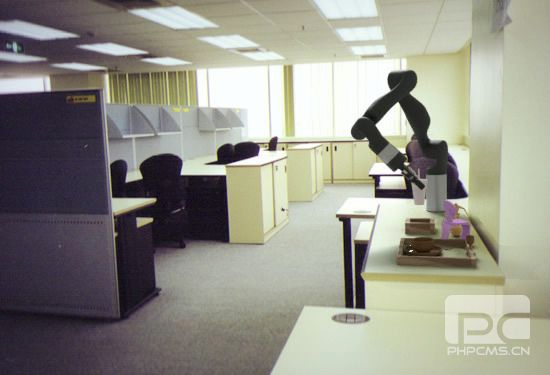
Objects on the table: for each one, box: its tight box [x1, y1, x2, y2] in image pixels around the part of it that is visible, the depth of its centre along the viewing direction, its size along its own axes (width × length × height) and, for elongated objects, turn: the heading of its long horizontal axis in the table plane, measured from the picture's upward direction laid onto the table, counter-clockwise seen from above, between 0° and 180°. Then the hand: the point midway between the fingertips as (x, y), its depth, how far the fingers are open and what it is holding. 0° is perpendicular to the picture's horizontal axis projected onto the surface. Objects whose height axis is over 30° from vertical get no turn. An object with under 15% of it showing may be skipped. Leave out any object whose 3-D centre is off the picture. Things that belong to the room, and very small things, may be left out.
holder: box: [404, 217, 436, 235], centre depth 197 cm, size 11×11×4 cm
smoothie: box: [411, 168, 428, 206], centre depth 195 cm, size 6×6×14 cm
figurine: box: [444, 202, 469, 237], centre depth 186 cm, size 8×6×12 cm
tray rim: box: [396, 237, 477, 268], centre depth 161 cm, size 25×22×2 cm
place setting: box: [404, 234, 476, 257], centre depth 161 cm, size 18×20×6 cm
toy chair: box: [439, 199, 471, 239], centre depth 176 cm, size 8×9×15 cm
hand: (423, 186), depth 194 cm, fingers closed on smoothie, 6 cm apart
